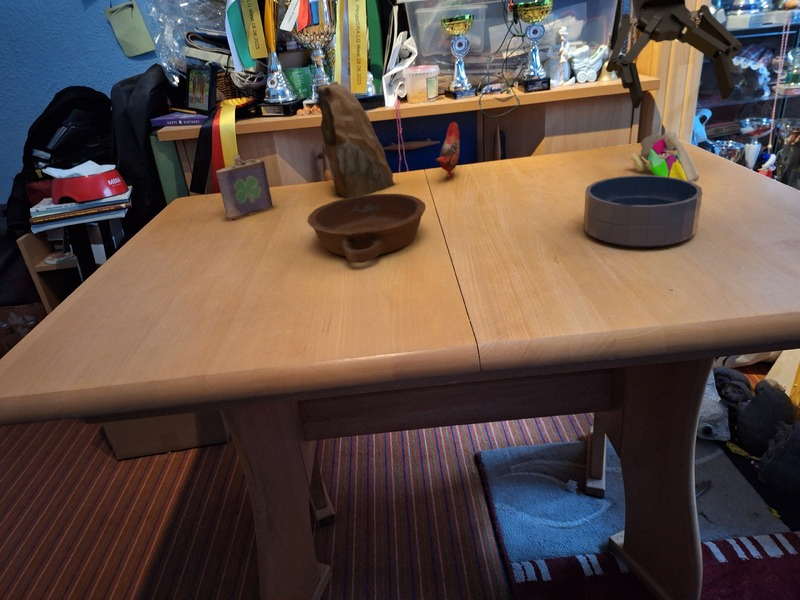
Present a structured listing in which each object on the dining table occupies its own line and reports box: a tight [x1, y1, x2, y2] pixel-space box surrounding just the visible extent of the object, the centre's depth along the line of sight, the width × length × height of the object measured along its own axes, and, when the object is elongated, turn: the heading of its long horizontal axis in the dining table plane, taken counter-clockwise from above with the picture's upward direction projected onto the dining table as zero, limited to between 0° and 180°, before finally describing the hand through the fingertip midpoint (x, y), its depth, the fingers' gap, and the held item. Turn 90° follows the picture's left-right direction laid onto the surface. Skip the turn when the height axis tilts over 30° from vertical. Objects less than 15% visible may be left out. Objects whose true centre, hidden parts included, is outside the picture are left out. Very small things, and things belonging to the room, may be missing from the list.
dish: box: [307, 193, 427, 264], centre depth 84 cm, size 18×22×5 cm
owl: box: [315, 81, 395, 199], centre depth 108 cm, size 13×13×20 cm
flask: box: [215, 154, 274, 221], centre depth 102 cm, size 9×3×11 cm, turn 129°
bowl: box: [583, 174, 703, 249], centre depth 76 cm, size 14×14×6 cm
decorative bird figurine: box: [435, 121, 460, 180], centre depth 109 cm, size 3×18×10 cm, turn 163°
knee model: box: [630, 130, 700, 184], centre depth 94 cm, size 9×8×25 cm
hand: (683, 98), depth 87 cm, fingers open, 13 cm apart
